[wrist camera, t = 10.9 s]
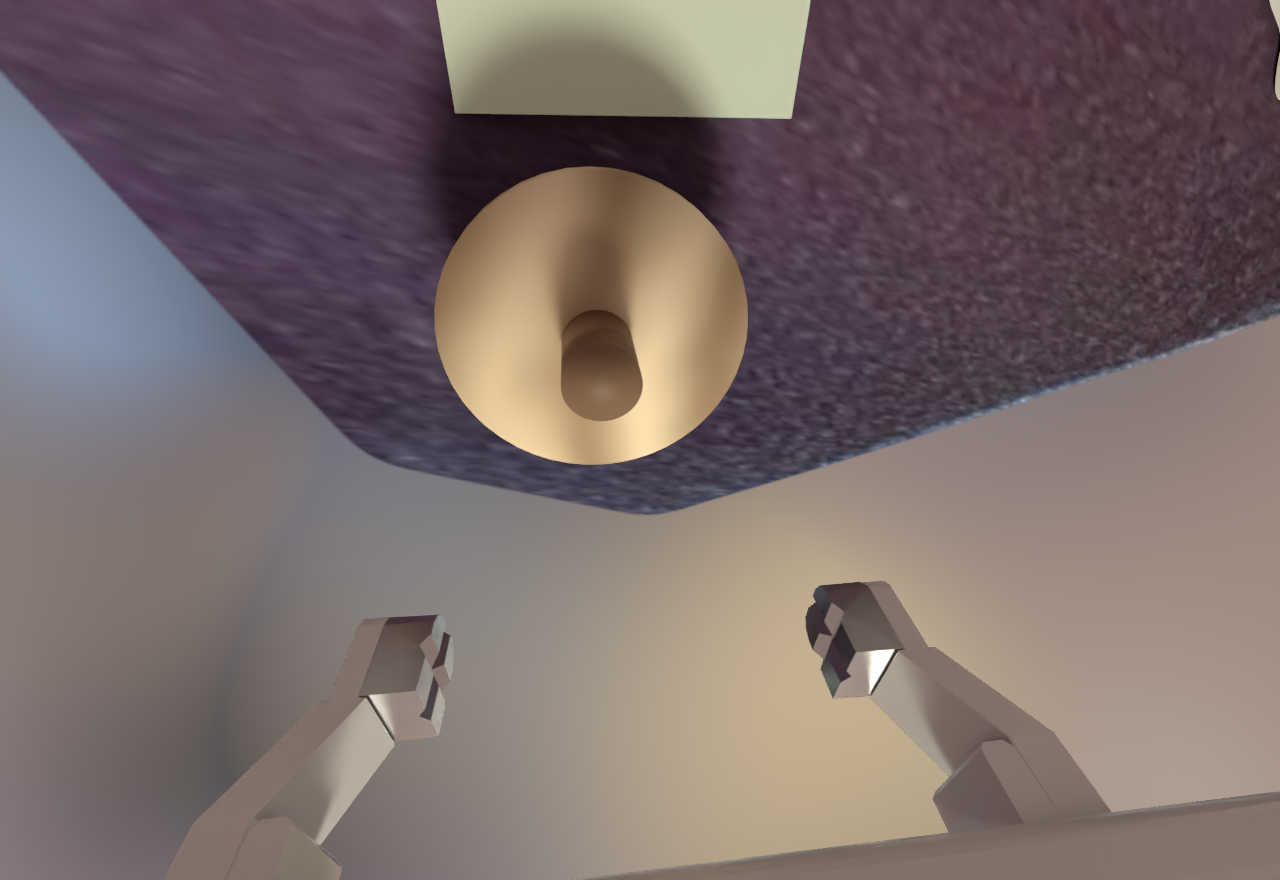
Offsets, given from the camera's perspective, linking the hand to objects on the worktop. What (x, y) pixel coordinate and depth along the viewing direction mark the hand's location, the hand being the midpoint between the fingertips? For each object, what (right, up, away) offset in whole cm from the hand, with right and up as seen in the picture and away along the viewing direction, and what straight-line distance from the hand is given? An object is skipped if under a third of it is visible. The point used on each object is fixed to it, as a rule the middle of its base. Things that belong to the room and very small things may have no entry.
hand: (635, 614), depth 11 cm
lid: (-2, +9, +12) cm, 15 cm away
